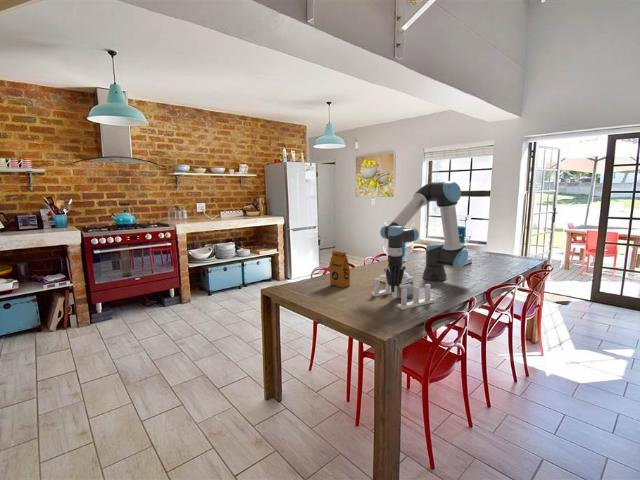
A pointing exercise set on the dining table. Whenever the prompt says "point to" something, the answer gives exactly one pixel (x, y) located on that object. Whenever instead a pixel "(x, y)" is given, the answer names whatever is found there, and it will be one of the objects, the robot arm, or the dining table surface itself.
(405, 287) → the ceramic mug
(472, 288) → the dining table surface
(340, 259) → the coffee package
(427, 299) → the rack
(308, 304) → the dining table surface
